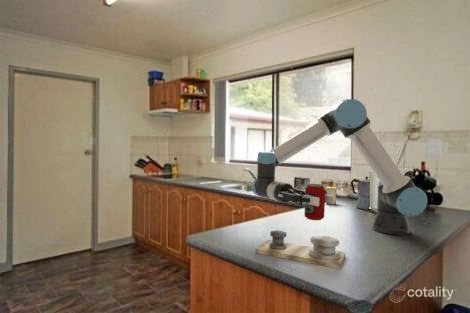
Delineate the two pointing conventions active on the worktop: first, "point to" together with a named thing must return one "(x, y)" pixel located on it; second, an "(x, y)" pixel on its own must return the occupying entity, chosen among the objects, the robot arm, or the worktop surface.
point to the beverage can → (311, 210)
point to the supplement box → (332, 193)
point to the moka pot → (362, 193)
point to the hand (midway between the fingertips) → (326, 201)
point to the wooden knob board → (304, 250)
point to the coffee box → (301, 183)
